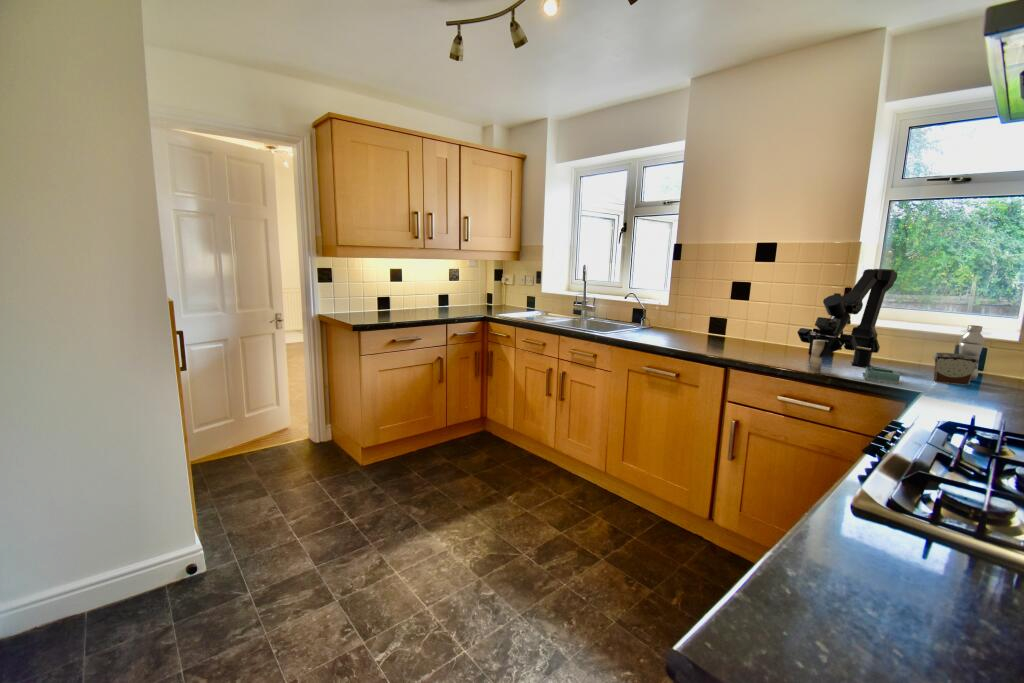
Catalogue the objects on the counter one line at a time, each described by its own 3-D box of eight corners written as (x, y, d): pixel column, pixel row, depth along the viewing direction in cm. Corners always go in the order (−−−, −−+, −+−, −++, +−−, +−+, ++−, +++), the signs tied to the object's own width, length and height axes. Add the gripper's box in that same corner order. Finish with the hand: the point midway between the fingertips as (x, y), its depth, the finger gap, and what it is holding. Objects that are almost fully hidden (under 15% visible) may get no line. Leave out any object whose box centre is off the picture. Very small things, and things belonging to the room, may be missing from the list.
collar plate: (862, 374, 171) (863, 366, 170) (896, 379, 165) (898, 370, 165) (864, 379, 162) (866, 370, 162) (901, 385, 157) (903, 375, 156)
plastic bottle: (981, 383, 164) (993, 327, 161) (959, 381, 166) (971, 326, 162) (967, 378, 171) (979, 325, 167) (946, 377, 172) (957, 324, 168)
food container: (963, 381, 166) (969, 354, 164) (973, 385, 160) (980, 357, 158) (921, 377, 170) (926, 351, 168) (930, 381, 164) (935, 354, 162)
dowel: (808, 370, 174) (813, 339, 171) (819, 372, 172) (824, 340, 170) (808, 372, 171) (813, 340, 168) (820, 374, 169) (825, 341, 167)
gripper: (803, 307, 177) (782, 336, 174) (858, 312, 161) (836, 345, 157) (812, 326, 182) (791, 355, 179) (866, 334, 166) (844, 366, 163)
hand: (814, 355), depth 169 cm, fingers closed on dowel, 4 cm apart
